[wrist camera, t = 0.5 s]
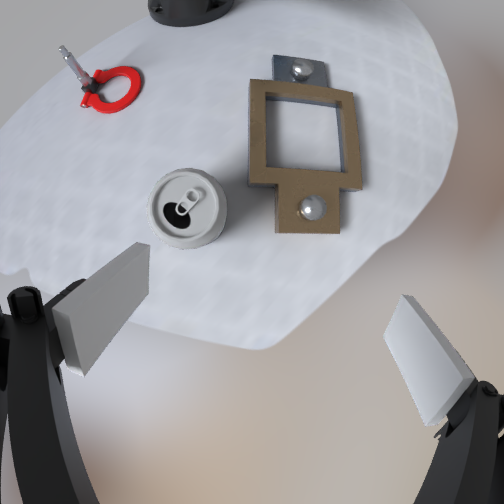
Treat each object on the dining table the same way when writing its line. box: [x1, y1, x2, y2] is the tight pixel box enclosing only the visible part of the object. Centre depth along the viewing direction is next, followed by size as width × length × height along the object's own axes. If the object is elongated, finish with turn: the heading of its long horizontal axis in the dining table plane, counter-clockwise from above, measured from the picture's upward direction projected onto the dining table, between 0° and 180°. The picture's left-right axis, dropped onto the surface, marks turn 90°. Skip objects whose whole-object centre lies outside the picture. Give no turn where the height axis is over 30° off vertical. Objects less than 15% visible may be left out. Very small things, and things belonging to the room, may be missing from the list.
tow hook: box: [59, 46, 141, 114], centre depth 26 cm, size 8×13×9 cm
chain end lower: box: [248, 55, 356, 192], centre depth 34 cm, size 21×15×3 cm
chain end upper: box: [249, 79, 362, 234], centre depth 33 cm, size 21×15×4 cm
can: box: [147, 168, 227, 250], centre depth 29 cm, size 8×8×12 cm
